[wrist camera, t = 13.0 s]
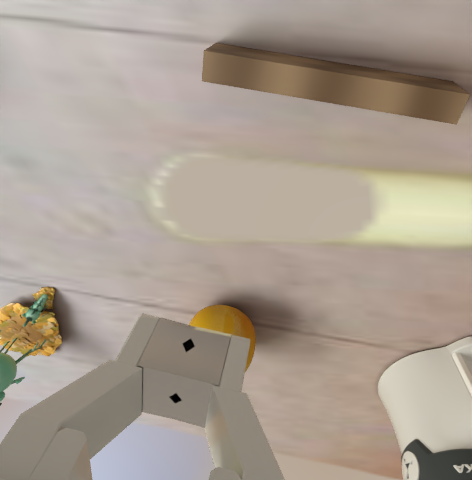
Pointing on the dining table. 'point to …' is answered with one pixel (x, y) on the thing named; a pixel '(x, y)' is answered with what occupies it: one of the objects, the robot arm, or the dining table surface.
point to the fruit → (227, 324)
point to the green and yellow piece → (26, 334)
